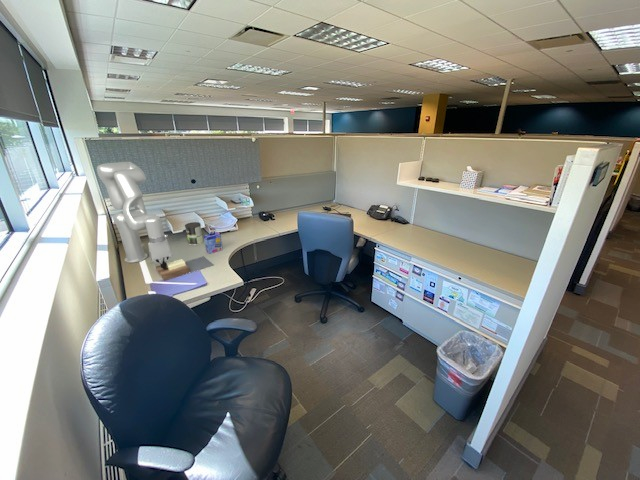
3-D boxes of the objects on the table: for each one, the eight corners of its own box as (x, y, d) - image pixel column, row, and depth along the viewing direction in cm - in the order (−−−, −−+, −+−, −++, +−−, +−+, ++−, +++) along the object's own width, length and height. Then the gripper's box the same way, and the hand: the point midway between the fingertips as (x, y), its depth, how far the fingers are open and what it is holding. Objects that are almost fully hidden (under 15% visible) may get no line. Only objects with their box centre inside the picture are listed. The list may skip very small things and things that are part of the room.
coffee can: (190, 246, 195) (186, 227, 189) (186, 241, 202) (183, 223, 197) (205, 243, 200) (202, 225, 195) (201, 238, 208) (198, 221, 203)
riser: (156, 271, 162) (155, 266, 161) (181, 263, 171) (180, 259, 170) (164, 280, 152) (163, 276, 151) (190, 272, 161) (189, 267, 160)
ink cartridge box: (209, 254, 183) (206, 234, 178) (205, 251, 187) (202, 232, 181) (223, 249, 190) (220, 230, 184) (219, 247, 193) (216, 228, 188)
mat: (181, 263, 171) (181, 262, 171) (203, 256, 180) (203, 256, 180) (190, 272, 160) (190, 272, 160) (213, 265, 169) (213, 264, 169)
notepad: (166, 266, 161) (165, 263, 160) (182, 261, 166) (181, 258, 166) (169, 270, 157) (168, 267, 156) (185, 265, 162) (185, 262, 162)
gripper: (170, 233, 157) (176, 262, 165) (140, 240, 148) (148, 270, 155) (174, 237, 152) (180, 266, 159) (143, 244, 143) (151, 275, 150)
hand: (164, 268), depth 157 cm, fingers closed
